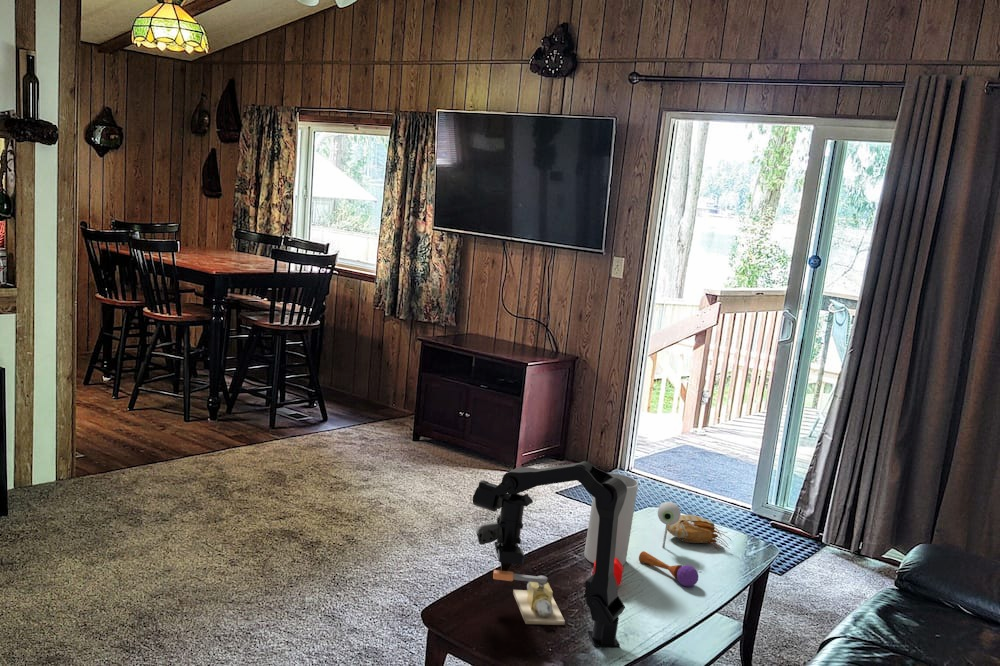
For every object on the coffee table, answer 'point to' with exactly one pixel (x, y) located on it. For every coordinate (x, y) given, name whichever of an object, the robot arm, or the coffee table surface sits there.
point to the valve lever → (518, 577)
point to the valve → (540, 598)
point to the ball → (615, 571)
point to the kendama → (673, 569)
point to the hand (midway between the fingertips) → (503, 573)
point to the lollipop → (668, 515)
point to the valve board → (531, 615)
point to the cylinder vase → (622, 526)
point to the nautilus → (695, 530)
